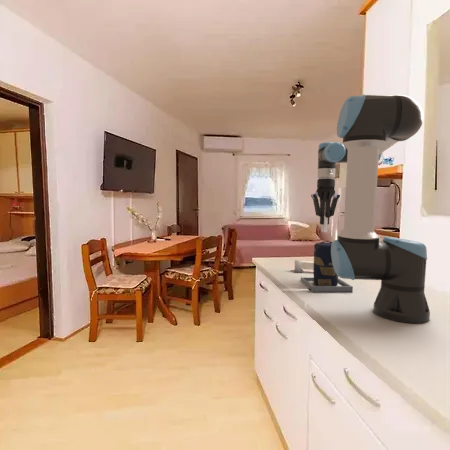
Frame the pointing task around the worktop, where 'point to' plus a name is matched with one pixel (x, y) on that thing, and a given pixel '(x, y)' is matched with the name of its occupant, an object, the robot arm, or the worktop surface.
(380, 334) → the worktop surface
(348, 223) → the robot arm
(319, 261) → the canister
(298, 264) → the crank
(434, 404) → the worktop surface
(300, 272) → the crank base
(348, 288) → the tray
